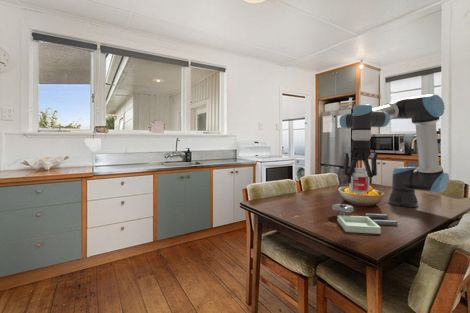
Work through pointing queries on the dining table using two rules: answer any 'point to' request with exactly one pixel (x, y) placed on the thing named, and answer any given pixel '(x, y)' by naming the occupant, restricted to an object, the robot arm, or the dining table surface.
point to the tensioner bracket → (381, 222)
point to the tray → (358, 224)
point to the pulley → (342, 208)
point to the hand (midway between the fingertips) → (358, 190)
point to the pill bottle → (359, 181)
